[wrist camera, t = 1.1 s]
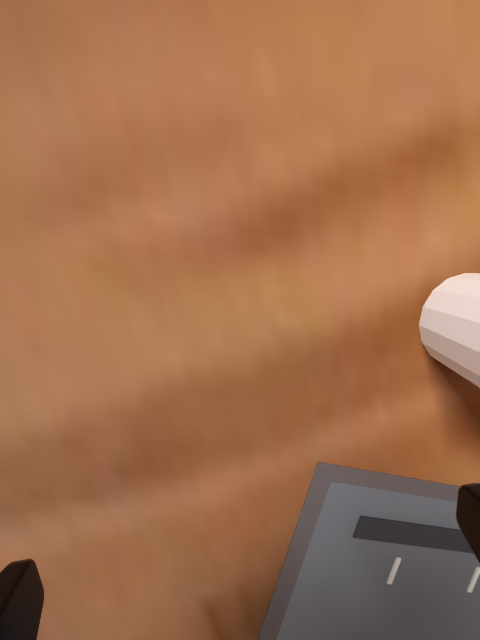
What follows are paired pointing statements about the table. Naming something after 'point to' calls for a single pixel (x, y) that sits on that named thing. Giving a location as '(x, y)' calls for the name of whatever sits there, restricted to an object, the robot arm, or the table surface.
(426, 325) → the white cup
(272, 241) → the table surface
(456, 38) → the table surface
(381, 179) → the table surface
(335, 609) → the console
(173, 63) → the table surface
